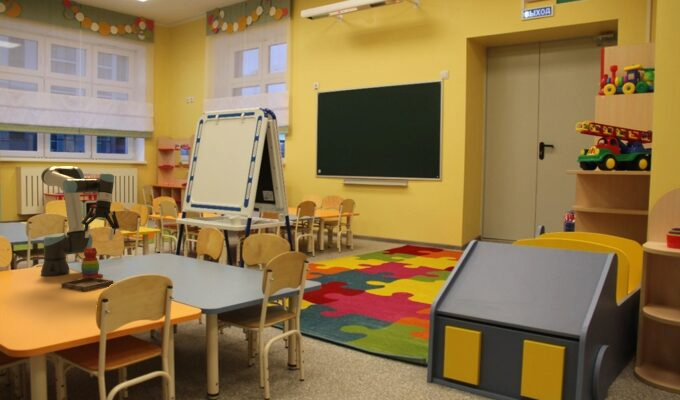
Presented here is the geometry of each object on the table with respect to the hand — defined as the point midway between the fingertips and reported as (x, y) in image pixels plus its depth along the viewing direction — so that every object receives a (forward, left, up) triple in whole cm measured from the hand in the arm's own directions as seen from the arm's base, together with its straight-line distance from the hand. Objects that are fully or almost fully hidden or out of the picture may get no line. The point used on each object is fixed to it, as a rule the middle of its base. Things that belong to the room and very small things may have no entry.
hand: (98, 239), depth 304 cm
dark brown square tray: (+2, -9, -24) cm, 26 cm away
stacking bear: (-14, +6, -24) cm, 29 cm away
